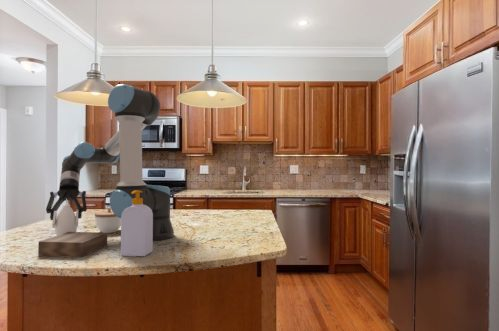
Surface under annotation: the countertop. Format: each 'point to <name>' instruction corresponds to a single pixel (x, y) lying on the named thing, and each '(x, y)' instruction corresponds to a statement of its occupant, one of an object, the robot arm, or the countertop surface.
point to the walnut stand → (72, 244)
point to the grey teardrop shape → (65, 220)
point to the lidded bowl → (107, 221)
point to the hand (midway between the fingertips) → (65, 224)
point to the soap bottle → (137, 228)
